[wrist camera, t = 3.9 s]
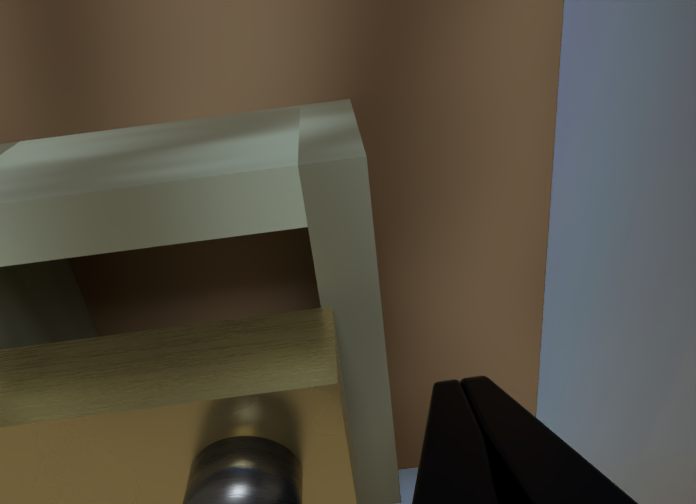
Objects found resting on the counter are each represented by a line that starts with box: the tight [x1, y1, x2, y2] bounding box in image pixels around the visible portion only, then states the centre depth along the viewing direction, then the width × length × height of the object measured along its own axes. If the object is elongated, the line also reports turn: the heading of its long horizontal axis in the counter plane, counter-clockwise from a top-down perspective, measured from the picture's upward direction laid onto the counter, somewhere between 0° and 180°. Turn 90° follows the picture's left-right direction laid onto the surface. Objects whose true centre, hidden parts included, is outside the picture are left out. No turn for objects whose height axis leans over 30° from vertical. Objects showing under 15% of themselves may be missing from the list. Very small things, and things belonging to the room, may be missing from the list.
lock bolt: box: [0, 307, 358, 504], centre depth 8 cm, size 6×3×3 cm, turn 96°
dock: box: [0, 0, 564, 504], centre depth 12 cm, size 20×14×5 cm
